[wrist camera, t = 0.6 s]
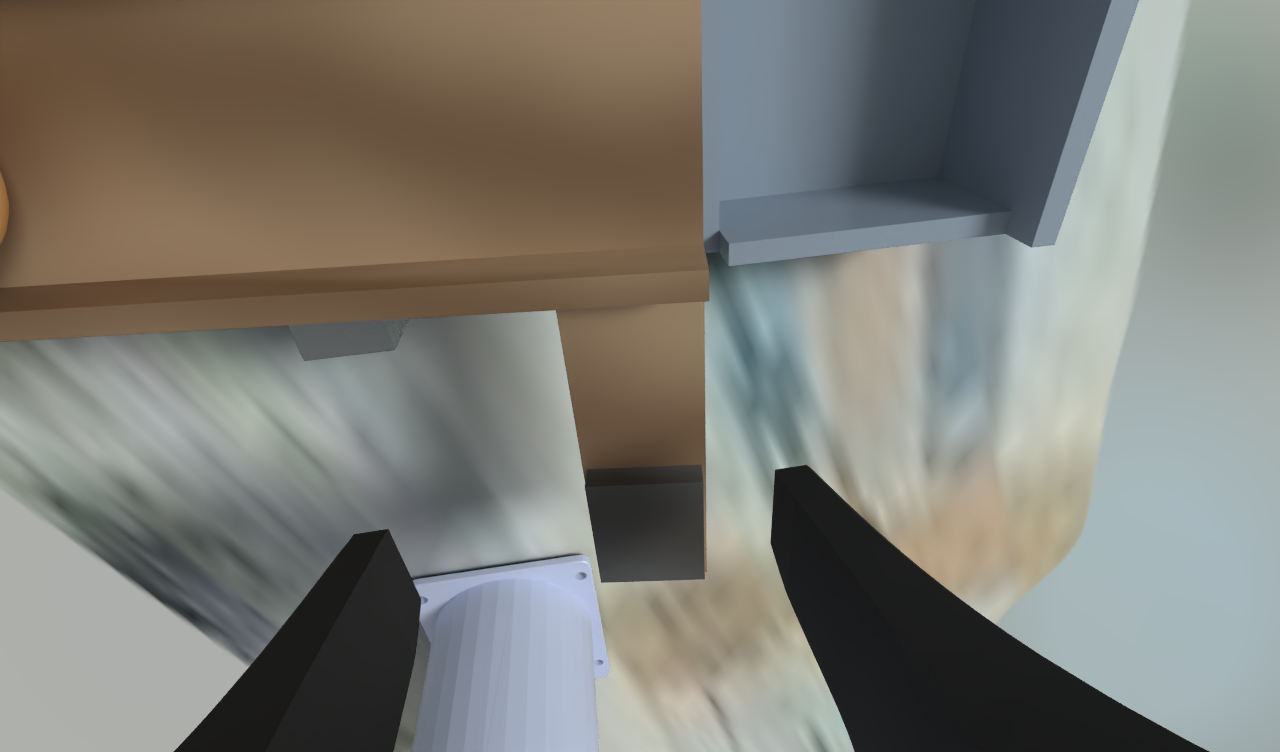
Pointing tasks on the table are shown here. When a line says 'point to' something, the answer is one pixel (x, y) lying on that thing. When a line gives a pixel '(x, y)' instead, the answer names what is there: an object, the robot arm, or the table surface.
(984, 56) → the blue-grey open box
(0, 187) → the ball
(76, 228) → the lever
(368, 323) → the lever stand
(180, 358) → the table surface
